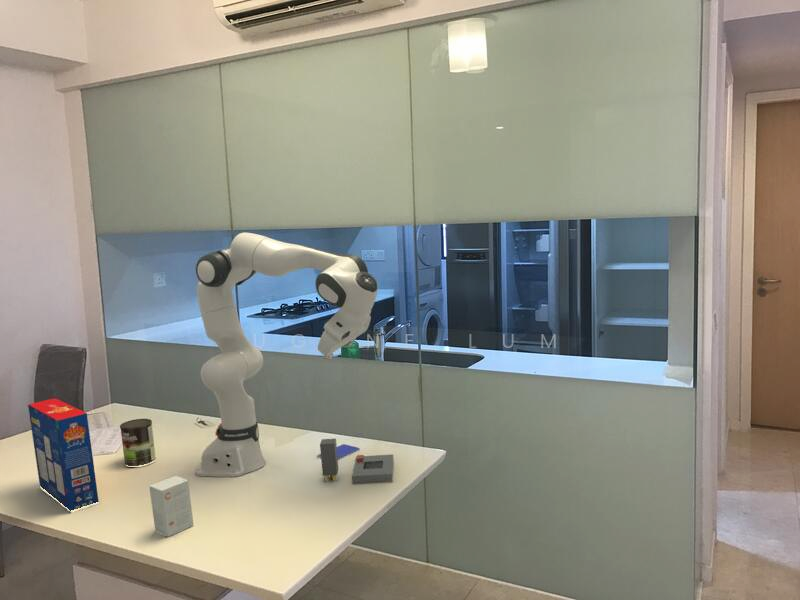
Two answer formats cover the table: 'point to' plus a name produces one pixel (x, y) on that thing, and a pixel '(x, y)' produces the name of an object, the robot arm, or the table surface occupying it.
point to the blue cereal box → (63, 452)
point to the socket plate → (373, 469)
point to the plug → (329, 458)
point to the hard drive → (344, 451)
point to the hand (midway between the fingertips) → (338, 351)
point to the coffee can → (138, 442)
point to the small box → (171, 505)
